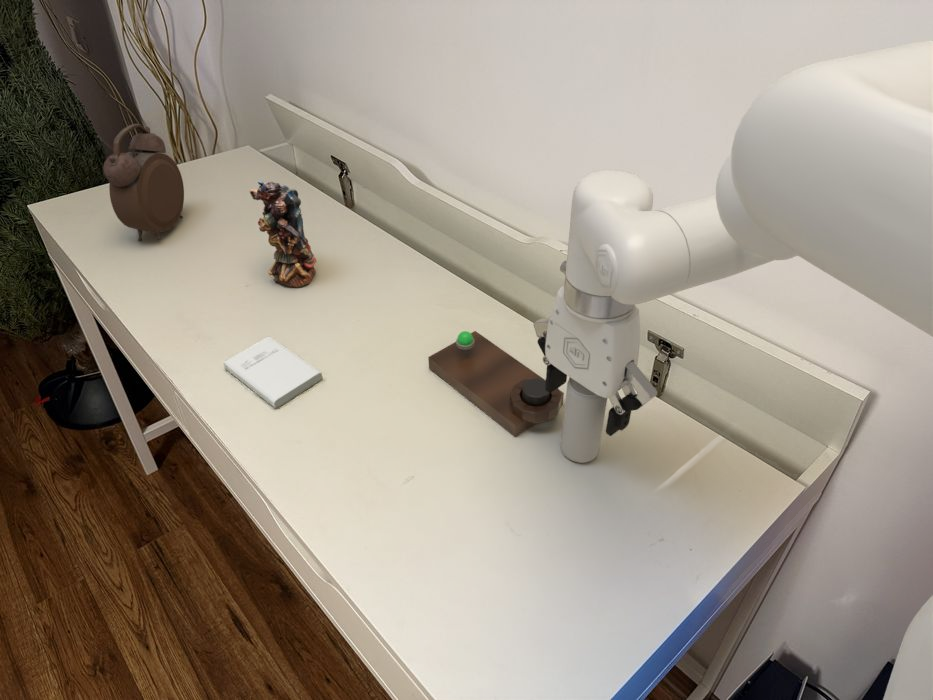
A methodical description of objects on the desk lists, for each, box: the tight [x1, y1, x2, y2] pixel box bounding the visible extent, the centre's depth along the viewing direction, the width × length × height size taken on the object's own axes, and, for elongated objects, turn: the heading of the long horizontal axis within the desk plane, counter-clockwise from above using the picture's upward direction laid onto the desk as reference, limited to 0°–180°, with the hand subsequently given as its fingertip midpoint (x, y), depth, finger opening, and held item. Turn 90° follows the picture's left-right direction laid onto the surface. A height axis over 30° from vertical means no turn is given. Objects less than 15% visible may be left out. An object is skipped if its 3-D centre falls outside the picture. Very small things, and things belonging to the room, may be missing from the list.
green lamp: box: [455, 330, 475, 350], centre depth 98 cm, size 3×3×2 cm
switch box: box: [427, 330, 565, 438], centre depth 96 cm, size 20×9×4 cm, turn 41°
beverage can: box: [560, 377, 608, 464], centre depth 85 cm, size 5×5×12 cm
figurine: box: [249, 180, 317, 288], centre depth 113 cm, size 11×9×18 cm
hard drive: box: [223, 336, 323, 409], centre depth 100 cm, size 2×8×12 cm
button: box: [522, 378, 550, 407], centre depth 90 cm, size 4×4×2 cm
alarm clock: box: [102, 123, 185, 242], centre depth 126 cm, size 14×7×20 cm, turn 169°
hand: (585, 407), depth 83 cm, fingers open, 9 cm apart
